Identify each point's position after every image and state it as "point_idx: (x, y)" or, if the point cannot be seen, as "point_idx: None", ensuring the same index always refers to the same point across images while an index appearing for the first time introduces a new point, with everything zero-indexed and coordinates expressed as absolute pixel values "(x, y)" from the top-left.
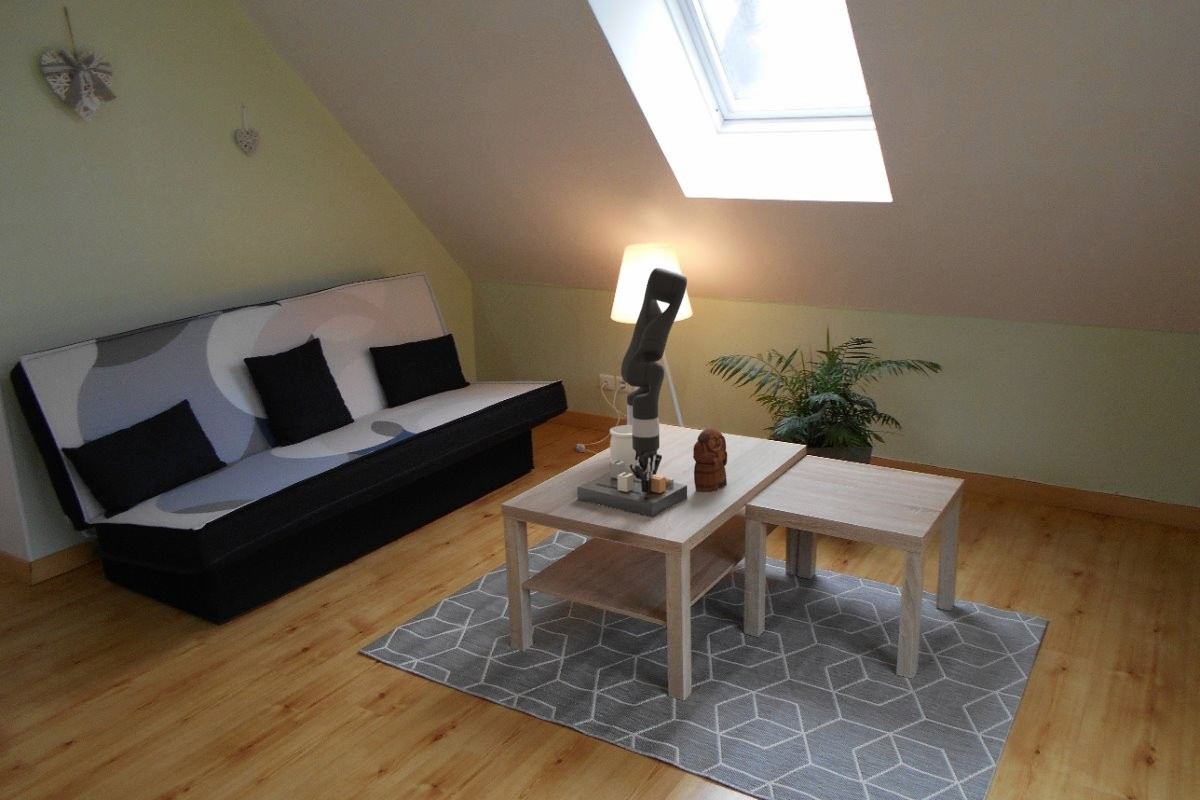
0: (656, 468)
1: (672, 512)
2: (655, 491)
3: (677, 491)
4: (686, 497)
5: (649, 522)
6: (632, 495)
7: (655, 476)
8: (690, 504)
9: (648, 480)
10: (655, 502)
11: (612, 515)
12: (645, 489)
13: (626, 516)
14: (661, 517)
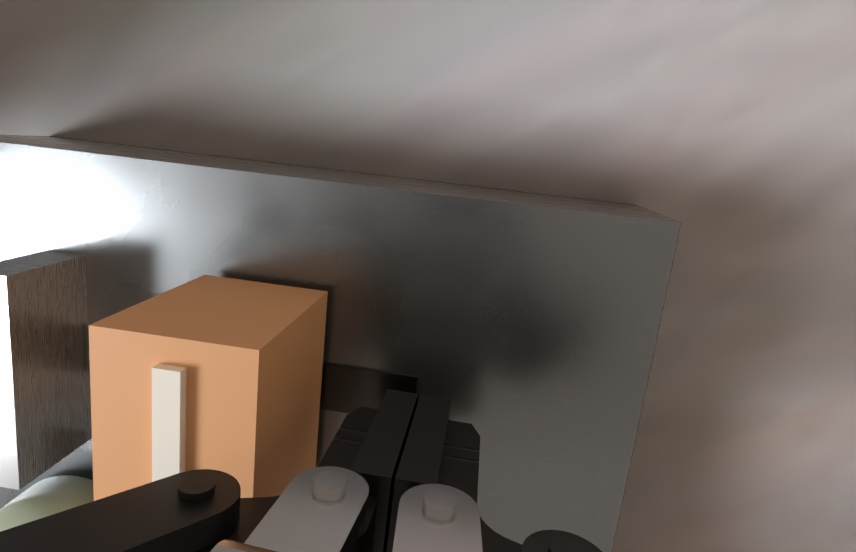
0: (98, 533)
1: (425, 92)
2: (320, 353)
3: (130, 155)
4: (49, 137)
5: (768, 172)
6: (508, 536)
7: (180, 463)
8: (157, 32)
9: (424, 482)
10: (600, 214)
11: (719, 542)
12: (479, 441)
13: (696, 429)
14: (593, 127)
